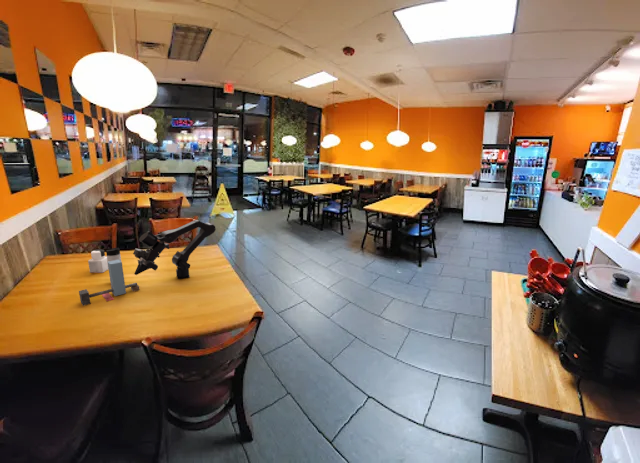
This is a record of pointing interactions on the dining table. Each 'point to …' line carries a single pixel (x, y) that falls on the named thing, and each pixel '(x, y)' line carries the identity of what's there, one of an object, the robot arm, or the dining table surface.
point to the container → (98, 261)
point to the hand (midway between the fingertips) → (135, 274)
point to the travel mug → (113, 254)
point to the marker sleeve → (116, 277)
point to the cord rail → (86, 296)
